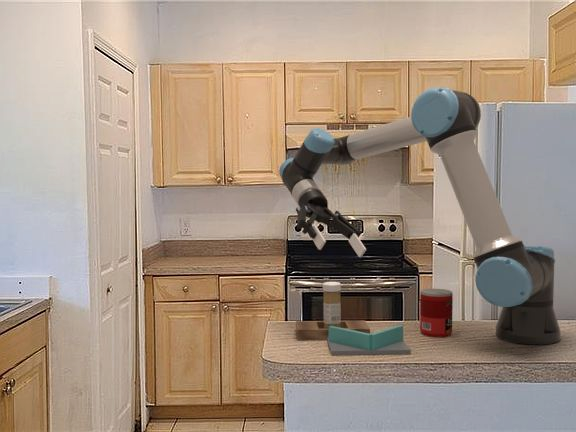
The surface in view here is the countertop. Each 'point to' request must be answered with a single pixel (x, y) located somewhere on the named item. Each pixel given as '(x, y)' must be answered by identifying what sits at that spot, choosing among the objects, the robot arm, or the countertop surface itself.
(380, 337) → the v cradle
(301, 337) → the brown hollow frame
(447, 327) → the canned food
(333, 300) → the sprinkles bottle
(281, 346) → the countertop surface
